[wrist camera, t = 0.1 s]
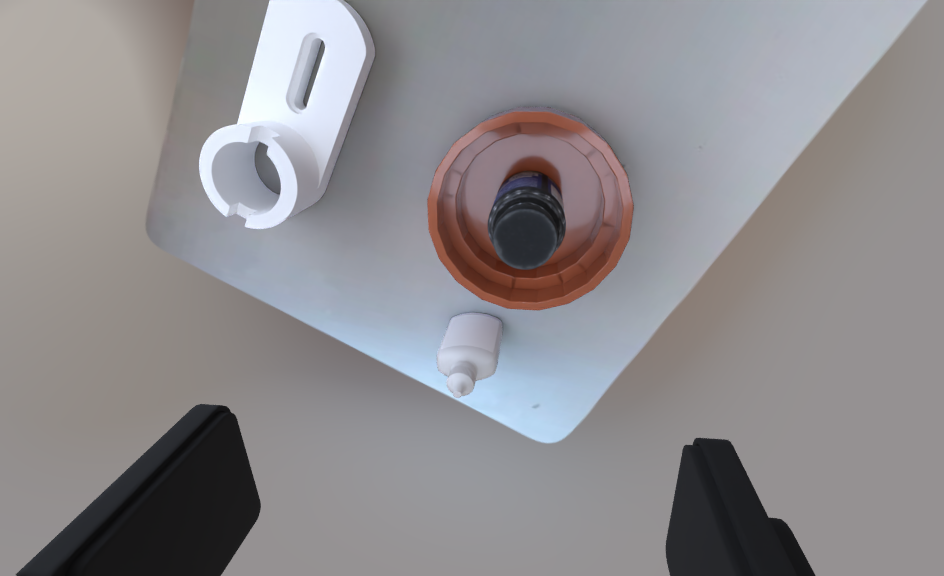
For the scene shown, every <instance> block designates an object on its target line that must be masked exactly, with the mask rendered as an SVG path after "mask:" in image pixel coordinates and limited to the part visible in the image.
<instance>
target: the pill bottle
mask: <svg viewBox="0 0 944 576" xmlns="http://www.w3.org/2000/svg"><path fill="white" fill-rule="evenodd" d="M565 231H566V219H565V213H564V206H563V200H562V195H561V191H560V189H559V187H558V185H557V184H556V183H555V182H554V181H553V180H552V179H551V178H549V177H548V176H547V175H545V174H543V173H541V172H538V171H522V172H519V173H516V174H514V175H512V176H510V177H509V178H508V179H506V180H505V181H504V183H503V184H502V185H501V187H500V189H499V190H498V193H497V196H496V198H495V201H494V204H493V206H492V209H491V212H490V214H489V218H488V235H489V238H490V240H491V242H492V245H493V246H494V249H495V251H496V253H497V255H498V256H499V258H500V259H501V260H502V261H503V262H504V263H506V264H507V265H509V266H511V267H513V268H516V269H521V270H529V269H534V268H537V267H539V266H541V265H543V264H545V263H546V262H547V261H548V260H549V259H550V258H551V257H552V255H553V254H554V252H555V251H556V250H557V249H558V248H559V246H560V245H561V243H562V241H563V238H564V236H565Z"/></svg>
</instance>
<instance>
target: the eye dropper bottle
mask: <svg viewBox="0 0 944 576" xmlns="http://www.w3.org/2000/svg"><path fill="white" fill-rule="evenodd" d="M501 341H502V322H501V321H500V320H499V319H498V318H496V317H494V316H491V315H487V314H483V313H464V314H460V315H456V316H454V317H452V318H451V319H450V321H449V324H448V326H447V329H446V331H445V334H444V337H443V339H442V342H441V344H440V347H439V350H438V353H437V368H438V370H439V371H440V372H441V373H442V374H444V375H446V376H448V378H447V382H446V384H447V387H448V389H449V390H450V392H452V393H453V395H454V397H456V398H460V397H461V396H465V395H468V394H470V393H471V392H472V391H473V389H474V385H475V381H478V380H482V379H485V378H488V377H490V376H492V375H493V374H494V373H495V371H496V368H497V363H498V357H499V352H500V346H501Z"/></svg>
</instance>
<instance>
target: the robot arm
mask: <svg viewBox="0 0 944 576" xmlns="http://www.w3.org/2000/svg"><path fill="white" fill-rule="evenodd" d="M260 508H261V504H260V499H259V495H258V492H257V488H256V485H255V481H254V478H253V474H252V471H251V467H250V464H249V460H248V457H247V453H246V449H245V446H244V442H243V439H242V436H241V432H240V428H239V425H238V421H237V418H236V416H235V415H234V414H233V413H231V412H230V409H229V408H228V407H226V406H222V405H205V404H200V405H196V406H195V407H193V408H192V409H191V410H190V411H189V412H188V413H187V414H186V415H185V416H184V417H183V418H181V419H180V420H179V421H178V422H177V423H176V424H175V425H174V426H173V427H172V428H171V429H170V430H169V431H168V432H167V433H166V434H165V435H163V436H162V437H161V438H160V439H159V440H158V441H157V442H156V443H155V444H154V445H153V446H152V447H151V448H150V449H149V450H147V451H146V452H145V453H144V455H142V456H141V457H140V458H139V459H138V460H137V461H136V462H135V463H134V464H133V465H132V466H130V468H128V469H127V470H126V471H125V472H124V473H123V474H122V475H121V476H120V477H119V478H118V479H117V480H116V481H115V482H114V483H112V484H111V486H109V487H108V488H107V489H106V490H105V491H104V492H103V493H102V494H101V495H100V496H99V497H98V498H97V499H96V500H94V501H93V502H92V503H91V504H90V505H89V506H88V507H87V508H86V509H85V510H84V511H83V512H82V513H81V514H80V515H79V516H77V517H76V518H75V519H74V520H73V521H72V522H71V523H70V524H69V525H68V526H67V527H66V528H65V529H64V530H63V531H61V533H59V534H58V535H57V536H56V537H55V538H54V539H53V540H52V541H51V542H50V543H49V544H48V545H47V546H46V547H45V548H43V549H42V550H41V551H40V552H39V553H38V554H37V555H36V556H35V557H34V558H33V559H32V560H31V561H30V562H29V563H27V564H26V565H25V566H24V568H22V569H21V570H20V571H19V572H18V573H17V574H16V575H17V576H221V574H222V573H223V571H224V570H225V568H226V567H227V565H228V563H229V562H230V561H231V559H232V557H233V556H234V554H235V553H236V551H237V550H238V548H239V547H240V545H241V544H242V542H243V541H244V539H245V537H246V536H247V534H248V533H249V531H250V529H251V528H252V527H253V525H254V524H255V522H256V520H257V519H258V516H259V513H260ZM666 558H667V564H668V568H669V572H670V576H815V574H814V572H813V570H812V568H811V567H810V565H809V563H808V561H807V559H806V557H805V555H804V553H803V551H802V550H801V548H800V546H799V544H798V542H797V540H796V538H795V537H794V534H793V533H792V531H791V530H790V528H789V527H788V525H787V524H786V523H785V522H784V521H783V520H781V519H777V518H768V516H767V514H766V512H765V510H764V508H763V506H762V504H761V502H760V500H759V498H758V496H757V494H756V491H755V489H754V487H753V485H752V483H751V481H750V479H749V477H748V476H747V473H746V471H745V469H744V467H743V465H742V463H741V461H740V459H739V457H738V455H737V453H736V451H735V449H734V447H733V445H732V444H731V442H730V441H728V440H722V439H707V438H696V439H695V440H694V442H693V445H685V446H684V448H683V452H682V457H681V463H680V468H679V474H678V479H677V485H676V490H675V496H674V501H673V507H672V513H671V518H670V523H669V529H668V534H667V540H666Z"/></svg>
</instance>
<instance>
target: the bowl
mask: <svg viewBox="0 0 944 576" xmlns="http://www.w3.org/2000/svg"><path fill="white" fill-rule="evenodd" d="M522 171H538V172H541V173H543V174H545V175H547V176H548V177H549V178H551V179H552V180H553V181H554V182H555V183H556V184H557V185H558V187H559V189H560V191H561V195H562V200H563V206H564V213H565V219H566V231H565V236H564V238H563V241H562V243H561V245H560V246H559V248H558V249H557V250H556V251H555V252H554V254H553V255H552V257H551V258H550V259H549V260H548V261H547V262H546V263H545V264H543V265H541V266H539V267H537V268H534V269H529V270H521V269H516V268H513V267H511V266H509V265H507V264H506V263H504V262H503V261H502V260H501V259H500V258H499V256H498V255H497V253H496V251H495V249H494V246H493V245H492V242H491V240H490V238H489V235H488V218H489V214H490V212H491V209H492V206H493V204H494V201H495V198H496V196H497V193H498V190H499V189H500V187H501V185H502V184H503V183H504V181H505V180H506V179H508V178H509V177H510V176H512V175H514V174H516V173H519V172H522ZM633 206H634V205H633V200H632V195H631V190H630V185H629V181H628V176H627V173H626V171H625V170H624V168H623V166H622V165H621V163H620V162H619V160H618V158H617V157H616V155H615V153H614V152H613V150H612V148H611V147H610V145H609V144H608V143H607V142H606V140H605V139H604V138H603V137H602V136H601V135H600V134H599V133H597V132H596V131H595V130H594V129H592V128H591V127H590V126H589V125H587V124H586V123H585V122H584V121H582V120H581V119H580V118H578V117H576V116H574V115H571V114H568V113H565V112H562V111H559V110H557V109H554V108H551V107H516V108H513V109H510V110H507V111H504V112H501V113H498V114H495V115H492V116H490V117H488V118H487V119H485V120H484V121H483V122H481V123H480V124H479V125H477V126H476V127H475V128H473V129H472V130H471V131H469V132H468V133H467V134H465V135H464V136H463V137H462V138H460V139H459V140H458V141H456V142H455V143H454V144H453V146H452V147H451V149H450V150H449V152H448V153H447V155H446V156H445V157H444V159H443V160H442V162H441V163H440V165H439V166H438V168H437V170H436V172H435V175H434V179H433V182H432V186H431V189H430V193H429V197H428V224H429V233H430V235H431V238H432V241H433V243H434V246H435V249H436V252H437V254H438V257H439V259H440V260H441V262H442V263H443V264H444V266H445V267H446V268H447V270H448V271H449V272H450V273H451V275H452V276H453V277H454V279H455V280H456V281H457V282H458V283H459V284H461V285H462V286H464V287H465V288H466V289H468V290H469V291H471V292H472V293H473V294H475V295H476V296H478V297H479V298H481V299H482V300H485V301H488V302H491V303H493V304H496V305H499V306H502V307H505V308H509V309H523V310H542V309H547V308H551V307H556V306H560V305H564V304H568V303H570V302H572V301H574V300H575V299H577V298H579V297H581V296H583V295H584V294H586V293H588V292H590V291H592V290H593V289H594V288H595V287H596V286H597V285H598V284H599V283H600V282H601V281H602V280H603V279H604V278H605V277H606V276H607V275H608V274H609V273H610V272H611V271H612V270H613V269H614V268H615V267H616V265H617V263H618V261H619V259H620V257H621V255H622V253H623V251H624V249H625V247H626V245H627V243H628V241H629V238H630V231H631V224H632V216H633V209H634V207H633Z"/></svg>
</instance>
